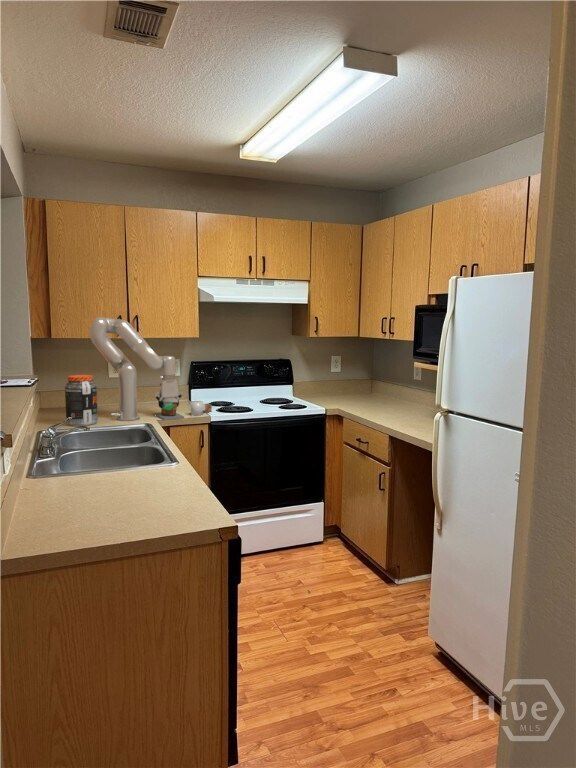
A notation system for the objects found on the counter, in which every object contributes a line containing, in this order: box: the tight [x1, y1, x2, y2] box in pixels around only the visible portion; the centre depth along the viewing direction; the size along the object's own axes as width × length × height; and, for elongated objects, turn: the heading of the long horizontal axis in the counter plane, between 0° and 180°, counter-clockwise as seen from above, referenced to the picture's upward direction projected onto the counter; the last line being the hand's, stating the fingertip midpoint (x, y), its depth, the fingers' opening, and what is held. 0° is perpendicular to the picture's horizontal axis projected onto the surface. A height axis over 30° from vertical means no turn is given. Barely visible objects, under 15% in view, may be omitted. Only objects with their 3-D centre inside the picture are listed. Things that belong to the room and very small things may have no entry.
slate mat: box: [153, 412, 185, 421], centre depth 298 cm, size 12×16×1 cm
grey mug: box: [190, 400, 206, 417], centre depth 304 cm, size 8×7×8 cm
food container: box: [160, 397, 178, 416], centre depth 296 cm, size 12×6×10 cm, turn 54°
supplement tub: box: [64, 374, 99, 427], centre depth 273 cm, size 16×16×26 cm
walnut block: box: [203, 403, 213, 414], centre depth 312 cm, size 5×5×5 cm
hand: (168, 406), depth 297 cm, fingers open, 9 cm apart
